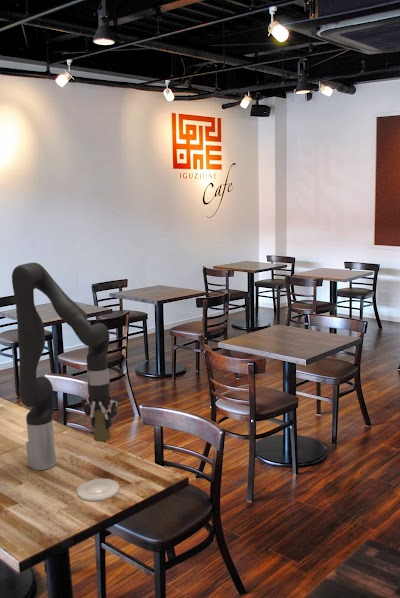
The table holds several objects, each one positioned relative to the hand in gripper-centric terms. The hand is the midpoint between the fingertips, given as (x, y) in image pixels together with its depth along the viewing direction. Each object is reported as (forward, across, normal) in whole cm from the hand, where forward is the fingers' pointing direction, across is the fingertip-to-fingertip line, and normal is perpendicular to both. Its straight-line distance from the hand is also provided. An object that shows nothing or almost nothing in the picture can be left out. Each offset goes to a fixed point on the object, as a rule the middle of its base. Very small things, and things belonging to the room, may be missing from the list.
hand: (101, 427), depth 216 cm
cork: (+4, 0, 0) cm, 4 cm away
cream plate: (+17, +4, -12) cm, 22 cm away
